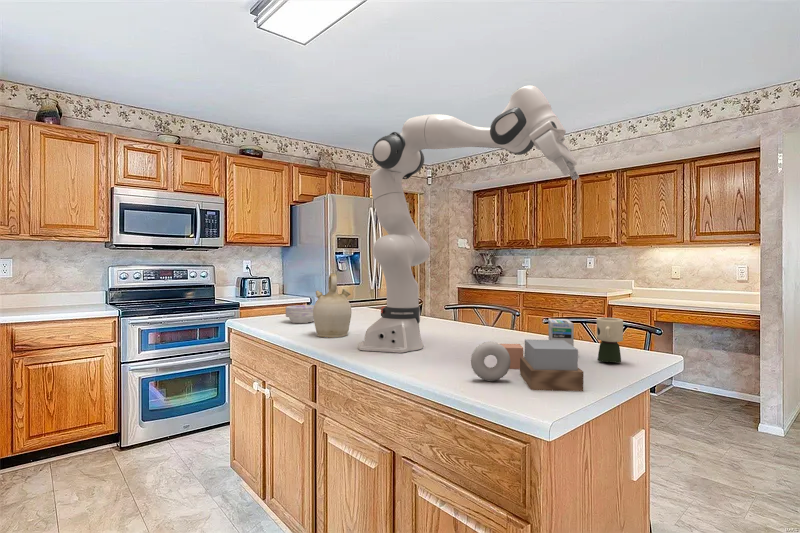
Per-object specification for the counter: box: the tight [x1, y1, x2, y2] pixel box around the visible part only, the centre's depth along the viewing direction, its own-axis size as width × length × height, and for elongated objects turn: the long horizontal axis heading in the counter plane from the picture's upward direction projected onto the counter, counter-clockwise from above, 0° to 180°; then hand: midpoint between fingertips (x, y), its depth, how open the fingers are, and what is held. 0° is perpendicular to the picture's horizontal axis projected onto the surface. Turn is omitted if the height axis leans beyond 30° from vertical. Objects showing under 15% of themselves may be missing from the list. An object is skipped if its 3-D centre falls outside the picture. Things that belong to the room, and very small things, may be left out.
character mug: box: [596, 317, 624, 364], centre depth 133 cm, size 11×7×13 cm, turn 147°
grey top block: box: [524, 339, 579, 371], centre depth 112 cm, size 10×12×5 cm
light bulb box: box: [547, 318, 575, 347], centre depth 146 cm, size 11×7×11 cm, turn 168°
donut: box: [470, 341, 511, 382], centre depth 113 cm, size 10×4×10 cm, turn 87°
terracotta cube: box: [499, 343, 524, 370], centre depth 129 cm, size 6×6×6 cm
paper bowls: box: [285, 304, 315, 324], centre depth 216 cm, size 15×15×8 cm
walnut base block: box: [519, 356, 584, 392], centre depth 112 cm, size 12×14×5 cm
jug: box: [313, 272, 352, 339], centre depth 180 cm, size 15×16×25 cm
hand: (572, 176), depth 123 cm, fingers open, 8 cm apart
